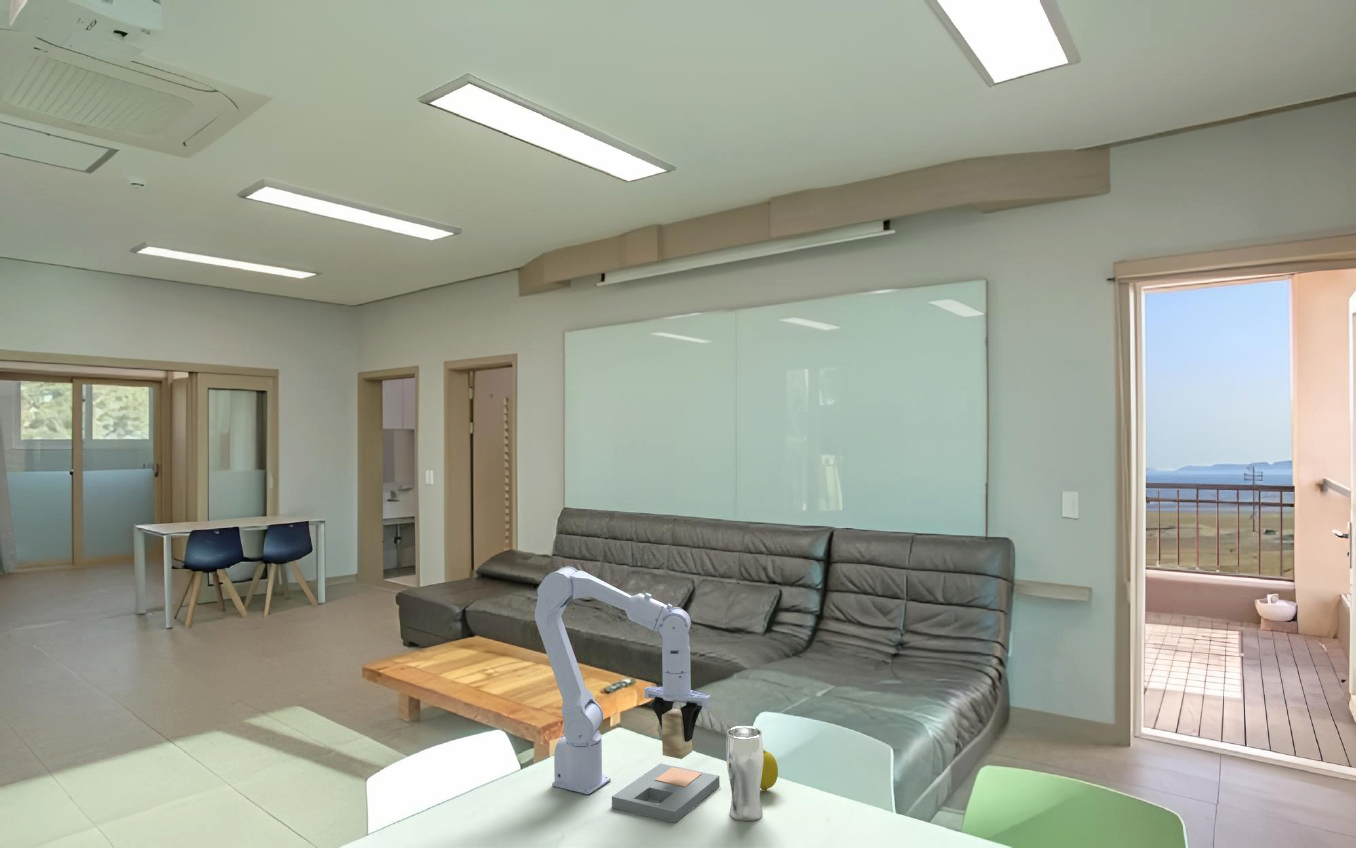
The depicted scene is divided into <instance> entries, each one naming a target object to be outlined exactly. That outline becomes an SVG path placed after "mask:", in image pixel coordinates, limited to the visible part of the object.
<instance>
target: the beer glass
mask: <svg viewBox="0 0 1356 848" xmlns="http://www.w3.org/2000/svg"><path fill="white" fill-rule="evenodd" d="M762 733H763V732H762V730H760V729H759V728H757V727H754V726H749V725H748V726H747V725H746V726H745V725H744V726H743V725H742V726H734V727H731V728H729V729H727V731H726V746H725V753H726V754H725V759H726V760H725V761H726V766H727V767H726V769H727V774H728V779H729V784H730V791H731V803H730V809H729V815H730V817H731V818H732V819H734V820H736V821H740V822H744V823H745V822H746V823H747V822H748V823H749V822H755V821H757V820H759V819H761V818H762V817H763V807H762V803H761V788H760V786H761V779H762V772H763V750H764V744H763V743H764V742H763V734H762Z"/></svg>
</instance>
